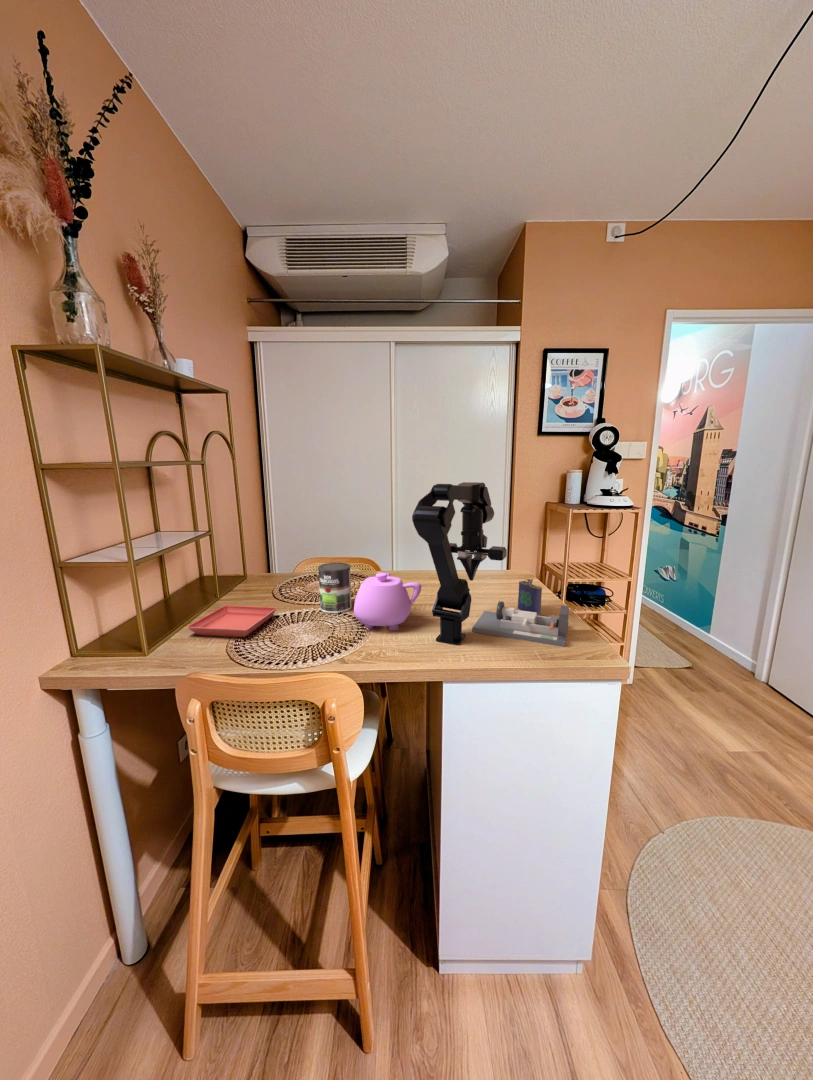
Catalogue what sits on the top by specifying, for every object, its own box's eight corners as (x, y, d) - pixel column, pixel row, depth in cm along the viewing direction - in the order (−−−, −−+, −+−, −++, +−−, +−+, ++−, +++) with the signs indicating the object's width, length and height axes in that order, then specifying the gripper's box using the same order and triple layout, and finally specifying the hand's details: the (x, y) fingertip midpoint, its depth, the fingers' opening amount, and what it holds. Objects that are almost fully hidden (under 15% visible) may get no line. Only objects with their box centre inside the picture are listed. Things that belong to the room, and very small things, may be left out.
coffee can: (343, 614, 126) (341, 571, 123) (314, 611, 129) (311, 569, 126) (357, 603, 135) (355, 563, 133) (329, 601, 138) (327, 561, 136)
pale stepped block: (492, 629, 109) (493, 609, 108) (500, 617, 118) (500, 598, 117) (531, 635, 105) (532, 614, 104) (536, 622, 114) (537, 603, 112)
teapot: (424, 609, 130) (423, 563, 127) (419, 635, 110) (419, 582, 107) (363, 608, 132) (362, 563, 129) (349, 633, 112) (346, 581, 109)
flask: (542, 616, 122) (544, 582, 120) (535, 617, 121) (536, 583, 119) (522, 606, 131) (523, 574, 129) (514, 608, 129) (515, 575, 128)
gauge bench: (472, 631, 112) (472, 606, 110) (484, 614, 124) (485, 592, 123) (564, 646, 102) (566, 619, 101) (568, 626, 114) (569, 602, 113)
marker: (546, 637, 104) (547, 627, 103) (550, 624, 112) (550, 615, 111) (554, 639, 103) (554, 628, 102) (557, 625, 111) (557, 616, 111)
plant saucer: (225, 614, 129) (224, 604, 128) (278, 616, 126) (277, 606, 125) (186, 638, 111) (185, 627, 111) (247, 641, 108) (246, 630, 108)
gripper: (511, 524, 117) (509, 576, 120) (450, 521, 125) (450, 570, 128) (502, 530, 107) (501, 586, 110) (437, 526, 116) (437, 579, 118)
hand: (471, 580), depth 117 cm, fingers closed
